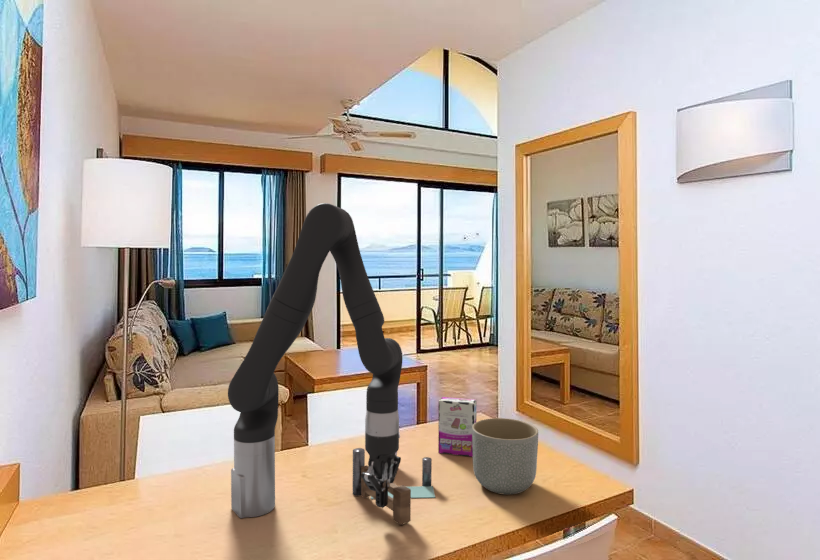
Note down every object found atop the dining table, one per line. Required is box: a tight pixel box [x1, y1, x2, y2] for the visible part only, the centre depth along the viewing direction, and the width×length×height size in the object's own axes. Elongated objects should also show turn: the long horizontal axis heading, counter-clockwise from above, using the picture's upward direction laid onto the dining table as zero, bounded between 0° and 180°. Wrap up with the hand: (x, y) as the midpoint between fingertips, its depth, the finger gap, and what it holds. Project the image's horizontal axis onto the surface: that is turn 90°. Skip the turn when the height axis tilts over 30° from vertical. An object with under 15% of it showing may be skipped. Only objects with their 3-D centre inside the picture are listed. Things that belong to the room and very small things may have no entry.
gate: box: [360, 464, 412, 526], centre depth 118 cm, size 17×3×7 cm, turn 38°
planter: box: [472, 417, 539, 495], centre depth 131 cm, size 17×17×15 cm
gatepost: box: [352, 447, 366, 497], centre depth 126 cm, size 3×3×11 cm
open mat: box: [370, 485, 436, 500], centre depth 127 cm, size 16×6×1 cm, turn 93°
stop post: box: [421, 456, 433, 487], centre depth 131 cm, size 2×2×7 cm
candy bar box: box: [437, 396, 478, 458], centre depth 153 cm, size 11×5×16 cm, turn 73°
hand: (381, 505), depth 112 cm, fingers closed
